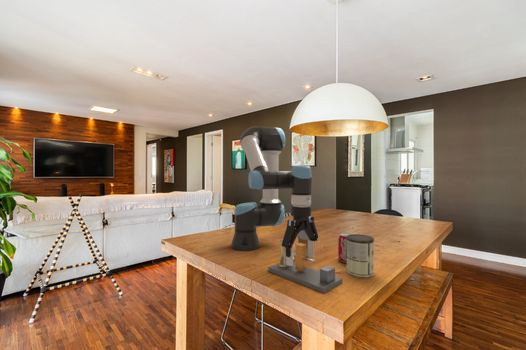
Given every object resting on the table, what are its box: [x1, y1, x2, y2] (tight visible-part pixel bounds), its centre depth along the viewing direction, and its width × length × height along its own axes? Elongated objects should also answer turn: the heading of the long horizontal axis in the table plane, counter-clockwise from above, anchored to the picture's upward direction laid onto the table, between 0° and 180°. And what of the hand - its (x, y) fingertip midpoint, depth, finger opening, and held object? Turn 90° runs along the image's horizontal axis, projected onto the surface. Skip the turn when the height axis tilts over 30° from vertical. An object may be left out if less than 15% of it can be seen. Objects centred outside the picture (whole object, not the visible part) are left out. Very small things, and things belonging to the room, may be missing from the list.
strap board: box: [267, 262, 343, 294], centre depth 96 cm, size 26×12×2 cm, turn 44°
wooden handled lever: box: [284, 243, 316, 272], centre depth 97 cm, size 13×5×10 cm, turn 44°
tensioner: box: [319, 265, 336, 284], centre depth 88 cm, size 3×5×4 cm, turn 134°
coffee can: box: [346, 233, 375, 278], centre depth 100 cm, size 10×10×14 cm
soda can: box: [337, 232, 352, 264], centre depth 113 cm, size 7×7×12 cm
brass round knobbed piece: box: [277, 239, 295, 268], centre depth 102 cm, size 8×5×10 cm, turn 44°
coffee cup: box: [297, 230, 309, 258], centre depth 122 cm, size 8×8×15 cm
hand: (300, 260), depth 97 cm, fingers open, 13 cm apart
